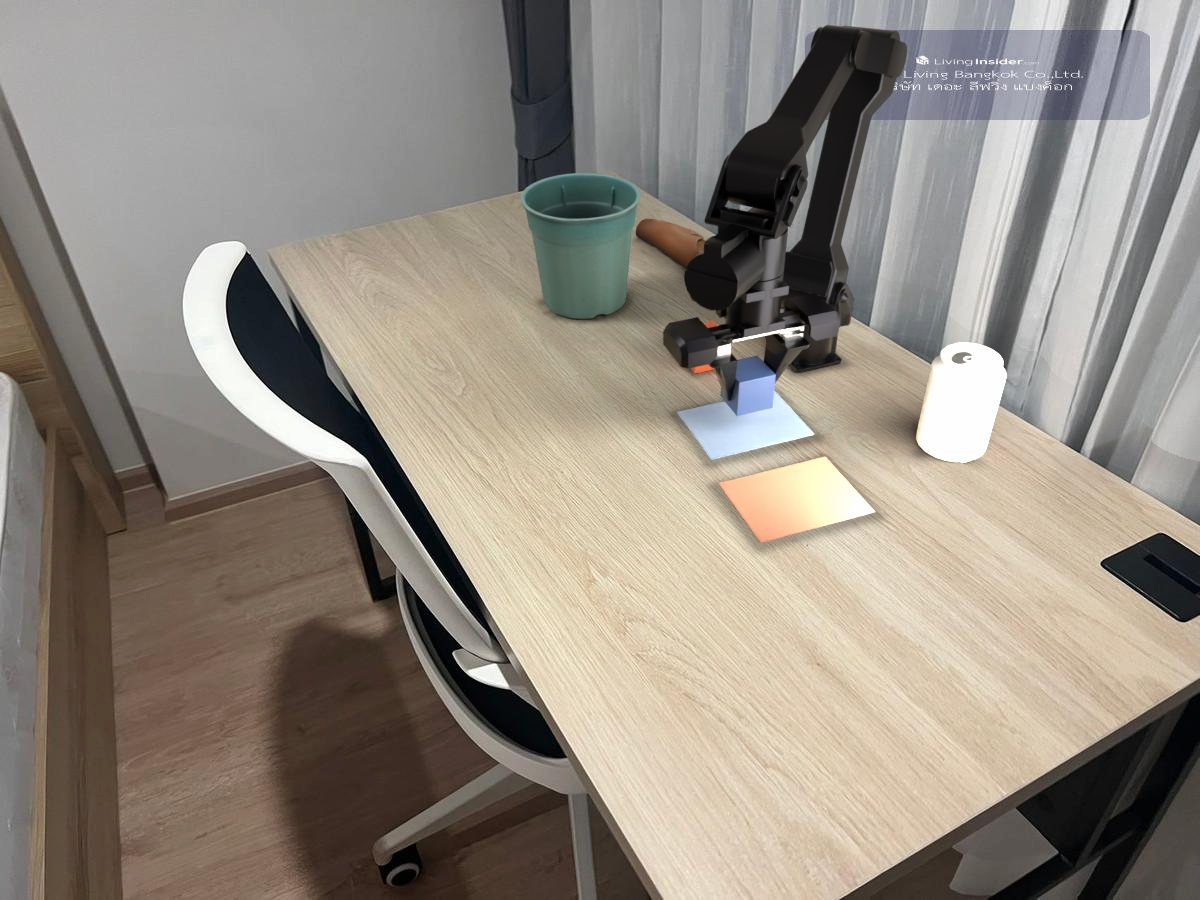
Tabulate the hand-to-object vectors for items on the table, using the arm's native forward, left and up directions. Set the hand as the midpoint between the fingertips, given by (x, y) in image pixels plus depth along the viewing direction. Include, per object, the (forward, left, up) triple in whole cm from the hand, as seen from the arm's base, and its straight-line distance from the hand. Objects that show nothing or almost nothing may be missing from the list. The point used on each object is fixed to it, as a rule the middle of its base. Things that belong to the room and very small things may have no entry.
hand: (746, 394), depth 103 cm
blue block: (0, 0, -1) cm, 1 cm away
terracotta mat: (+1, +14, -4) cm, 15 cm away
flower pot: (+8, -37, -5) cm, 38 cm away
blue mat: (0, 0, -4) cm, 5 cm away
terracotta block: (-1, -15, -4) cm, 16 cm away
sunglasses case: (-12, -46, -5) cm, 47 cm away
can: (-19, +12, -5) cm, 23 cm away
